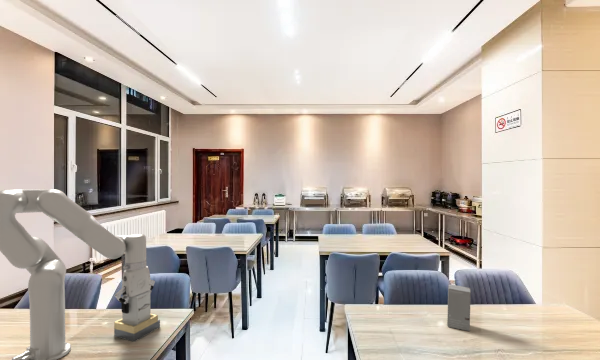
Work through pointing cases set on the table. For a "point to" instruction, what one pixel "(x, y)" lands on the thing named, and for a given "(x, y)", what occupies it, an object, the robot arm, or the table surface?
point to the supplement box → (137, 309)
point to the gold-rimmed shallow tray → (136, 328)
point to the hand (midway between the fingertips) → (136, 307)
